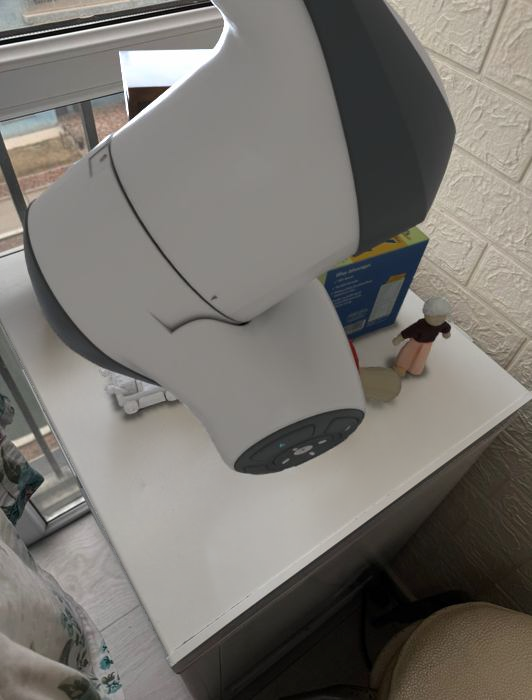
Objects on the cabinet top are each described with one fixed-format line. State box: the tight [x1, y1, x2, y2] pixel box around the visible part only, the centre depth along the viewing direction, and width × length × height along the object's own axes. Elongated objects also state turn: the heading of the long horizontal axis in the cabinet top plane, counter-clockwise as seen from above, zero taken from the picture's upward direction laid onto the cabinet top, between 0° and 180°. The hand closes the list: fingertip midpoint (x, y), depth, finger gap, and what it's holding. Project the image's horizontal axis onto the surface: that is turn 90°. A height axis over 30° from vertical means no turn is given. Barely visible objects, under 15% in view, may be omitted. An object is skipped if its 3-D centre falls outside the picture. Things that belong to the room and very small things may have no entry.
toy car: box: [98, 367, 178, 415], centre depth 61 cm, size 6×12×4 cm, turn 115°
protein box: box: [317, 225, 431, 341], centre depth 67 cm, size 10×15×16 cm
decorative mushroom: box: [347, 337, 403, 403], centre depth 60 cm, size 11×11×15 cm
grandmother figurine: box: [390, 296, 453, 378], centre depth 63 cm, size 8×4×13 cm, turn 114°
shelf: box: [118, 48, 214, 123], centre depth 70 cm, size 14×10×26 cm
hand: (194, 139), depth 42 cm, fingers open, 8 cm apart
